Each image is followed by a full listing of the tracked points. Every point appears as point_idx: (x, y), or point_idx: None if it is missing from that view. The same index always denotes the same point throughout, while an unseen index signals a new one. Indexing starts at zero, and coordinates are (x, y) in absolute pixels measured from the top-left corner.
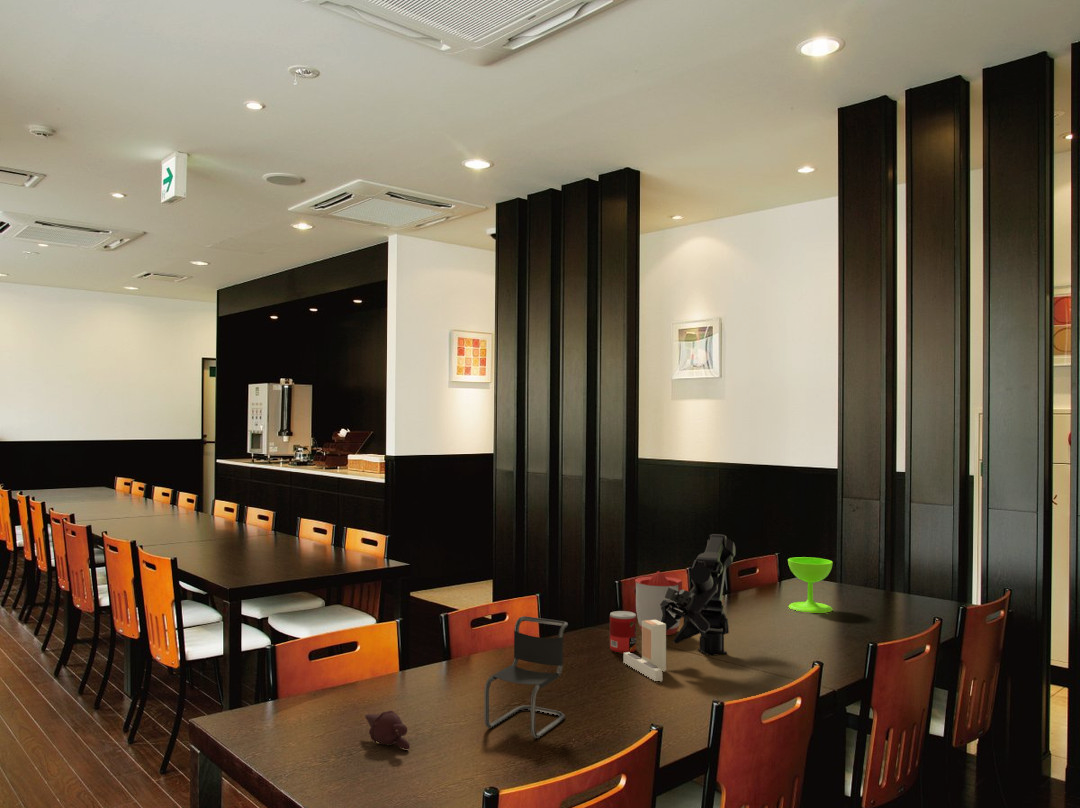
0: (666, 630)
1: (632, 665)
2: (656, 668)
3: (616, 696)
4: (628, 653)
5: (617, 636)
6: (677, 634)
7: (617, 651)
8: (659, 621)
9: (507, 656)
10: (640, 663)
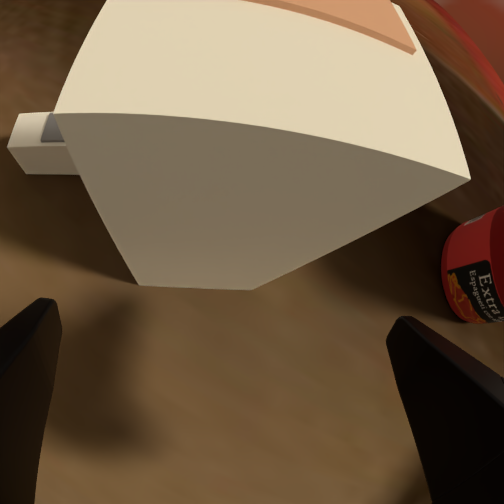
0: (409, 423)
1: None
2: (38, 131)
3: (40, 7)
4: None
5: (496, 212)
6: (2, 352)
7: (452, 232)
8: (341, 128)
9: (420, 18)
10: None
